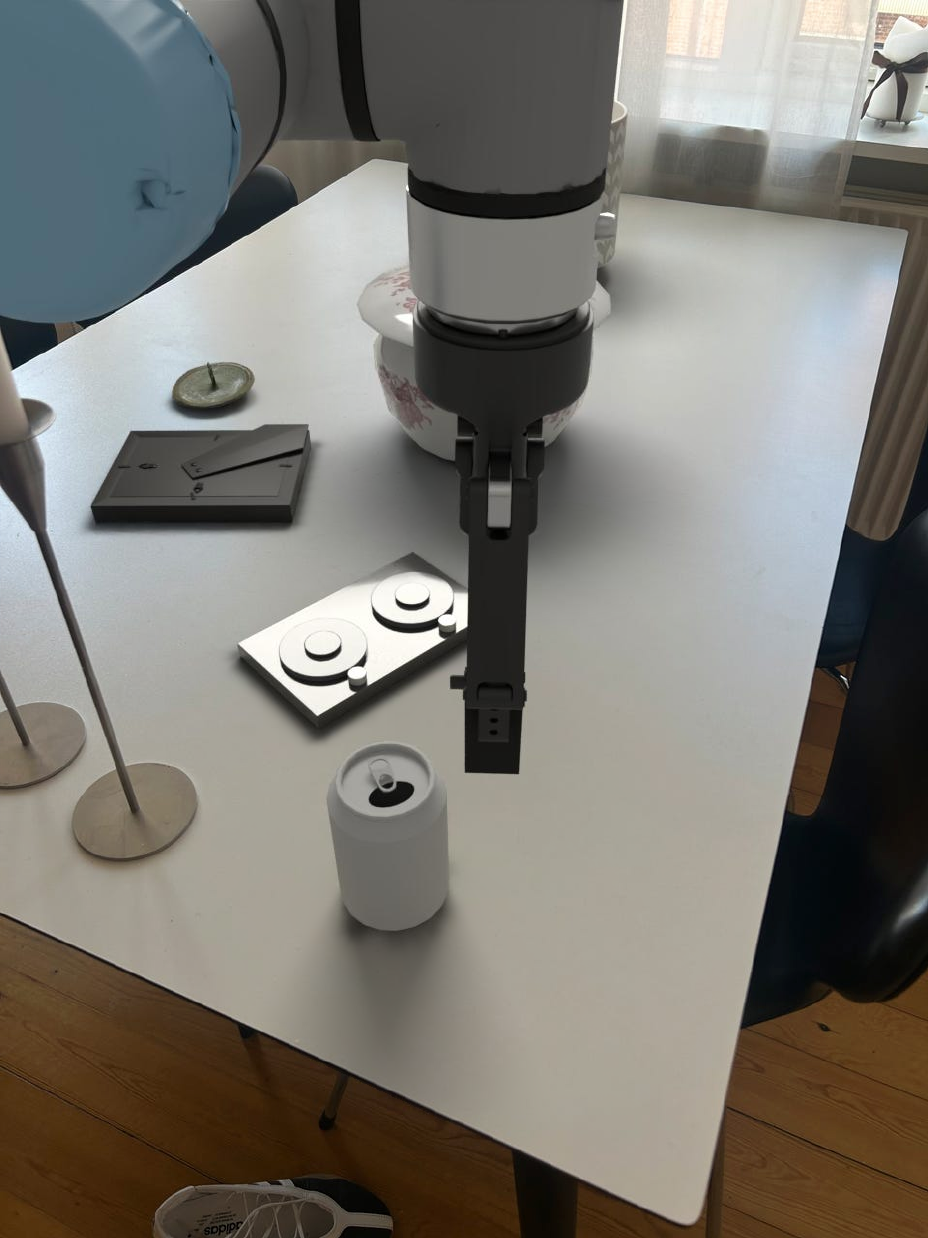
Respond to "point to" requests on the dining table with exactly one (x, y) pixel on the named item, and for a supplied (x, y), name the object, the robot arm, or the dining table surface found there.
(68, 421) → the dining table surface
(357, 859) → the can
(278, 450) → the picture frame
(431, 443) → the chamber pot
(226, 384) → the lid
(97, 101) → the robot arm
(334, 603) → the hob
